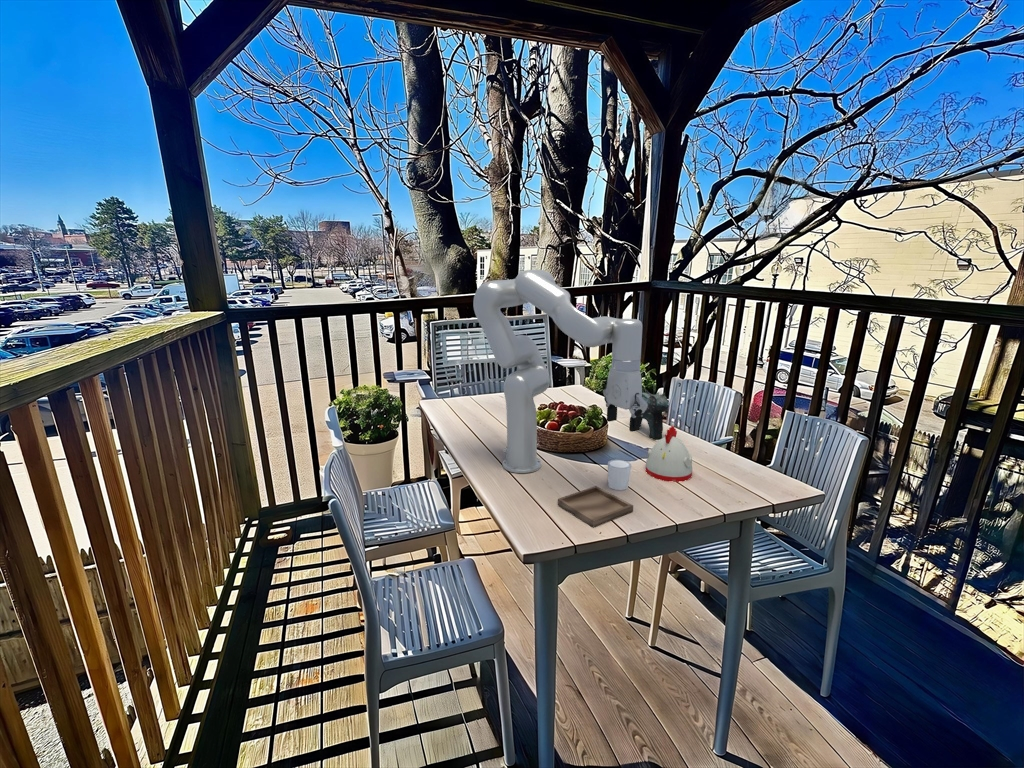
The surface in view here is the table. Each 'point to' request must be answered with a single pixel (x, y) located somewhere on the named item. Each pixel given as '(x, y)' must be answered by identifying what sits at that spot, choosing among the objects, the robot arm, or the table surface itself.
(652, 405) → the dark green animal figurine
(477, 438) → the table surface
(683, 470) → the kitchen timer
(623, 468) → the shot glass
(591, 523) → the walnut tray
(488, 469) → the table surface
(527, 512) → the table surface
